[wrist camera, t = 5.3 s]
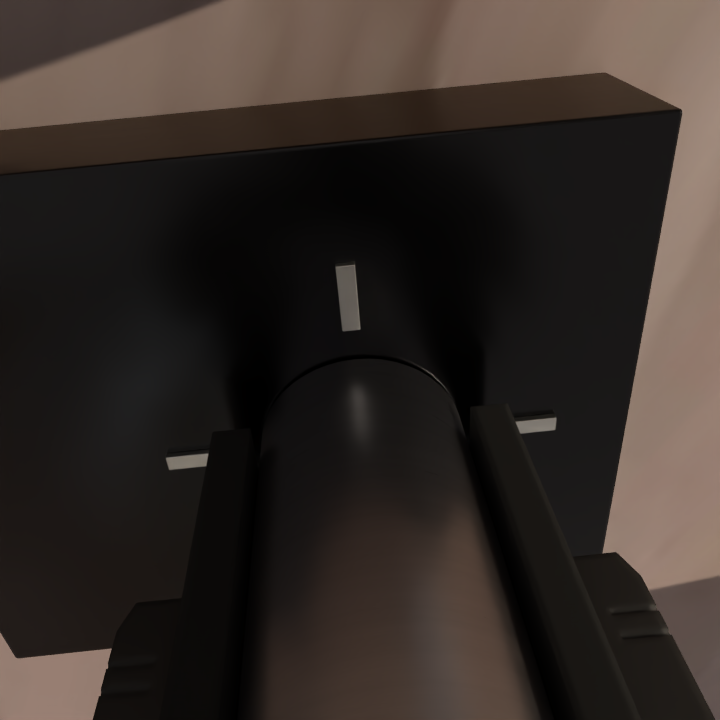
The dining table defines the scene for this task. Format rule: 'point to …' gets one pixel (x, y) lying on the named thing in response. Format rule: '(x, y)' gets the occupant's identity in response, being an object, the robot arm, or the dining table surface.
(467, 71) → the dining table surface
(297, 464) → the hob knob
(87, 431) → the hob
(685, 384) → the dining table surface
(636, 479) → the dining table surface
